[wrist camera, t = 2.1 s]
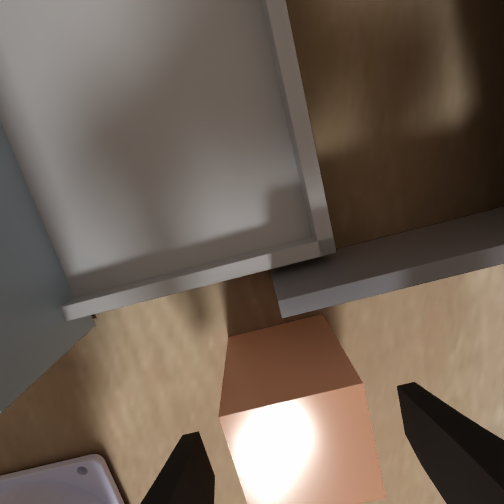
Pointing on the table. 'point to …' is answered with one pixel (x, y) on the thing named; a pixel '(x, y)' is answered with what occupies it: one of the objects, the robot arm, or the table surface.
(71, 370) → the table surface
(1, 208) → the tray
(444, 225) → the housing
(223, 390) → the block
